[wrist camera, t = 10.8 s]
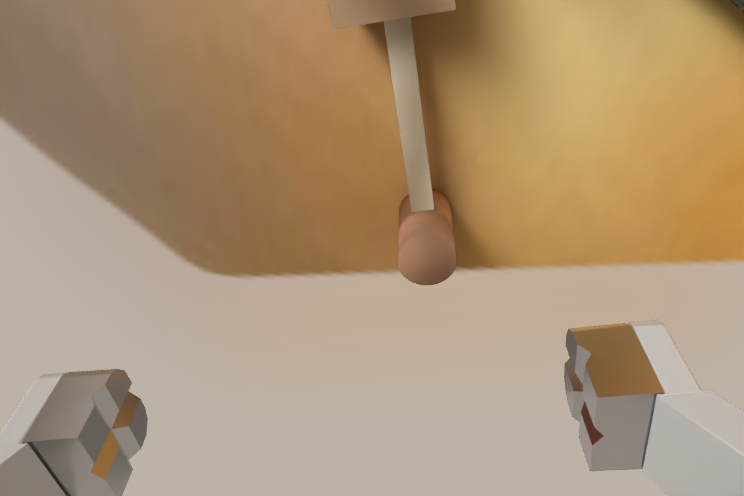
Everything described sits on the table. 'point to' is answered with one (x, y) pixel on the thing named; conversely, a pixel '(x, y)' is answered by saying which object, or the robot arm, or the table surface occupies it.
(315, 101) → the table surface
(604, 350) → the robot arm
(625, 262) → the table surface
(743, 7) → the gun
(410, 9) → the wooden mallet
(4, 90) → the table surface
